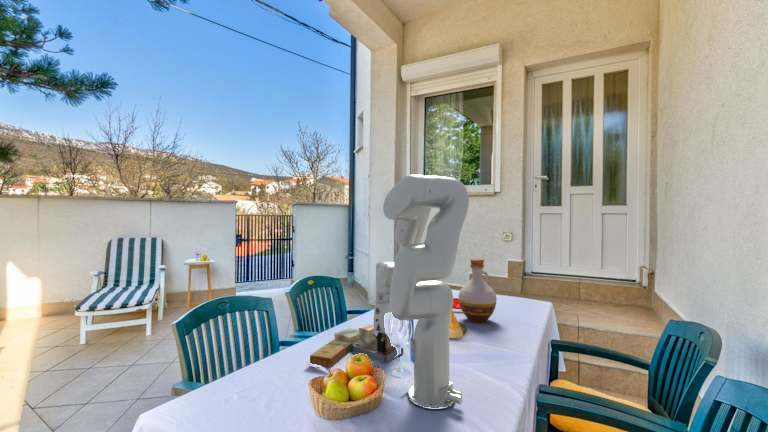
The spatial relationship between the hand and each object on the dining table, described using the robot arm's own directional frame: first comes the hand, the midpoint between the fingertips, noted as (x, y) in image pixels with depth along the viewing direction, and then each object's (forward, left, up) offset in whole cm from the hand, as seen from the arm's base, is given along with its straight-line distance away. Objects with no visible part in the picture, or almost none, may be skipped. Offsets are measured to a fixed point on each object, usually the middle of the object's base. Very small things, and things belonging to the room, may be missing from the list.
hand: (386, 348), depth 115 cm
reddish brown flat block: (+14, +12, -4) cm, 19 cm away
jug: (-6, -64, -4) cm, 64 cm away
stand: (+19, 0, -3) cm, 19 cm away
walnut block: (0, 0, -2) cm, 2 cm away
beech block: (+9, 0, -2) cm, 9 cm away
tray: (+5, 0, -3) cm, 6 cm away
